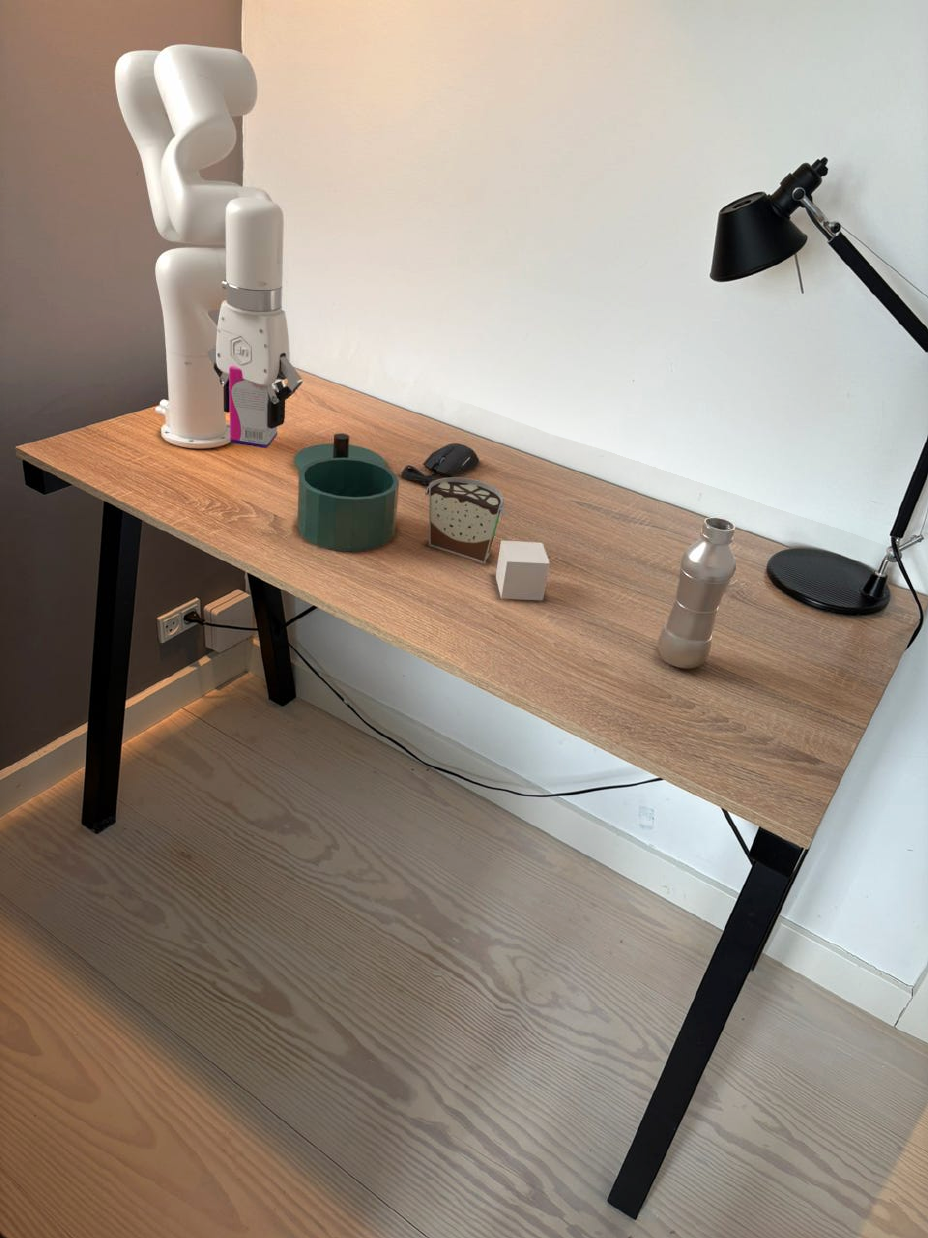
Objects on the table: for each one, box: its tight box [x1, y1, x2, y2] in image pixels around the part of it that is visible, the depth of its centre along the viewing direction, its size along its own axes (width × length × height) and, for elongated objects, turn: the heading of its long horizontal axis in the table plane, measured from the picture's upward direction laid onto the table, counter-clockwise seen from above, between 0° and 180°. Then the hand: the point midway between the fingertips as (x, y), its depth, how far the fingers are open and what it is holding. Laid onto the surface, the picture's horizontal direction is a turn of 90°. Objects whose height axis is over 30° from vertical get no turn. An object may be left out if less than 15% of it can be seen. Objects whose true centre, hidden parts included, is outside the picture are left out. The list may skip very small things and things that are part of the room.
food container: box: [424, 476, 506, 565], centre depth 140 cm, size 12×6×10 cm, turn 65°
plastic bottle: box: [657, 516, 737, 670], centre depth 117 cm, size 6×7×20 cm
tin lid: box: [293, 433, 387, 472], centre depth 160 cm, size 16×16×6 cm
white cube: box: [495, 540, 551, 601], centre depth 132 cm, size 6×6×6 cm
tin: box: [297, 458, 400, 552], centre depth 141 cm, size 15×15×8 cm
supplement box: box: [229, 366, 279, 449], centre depth 137 cm, size 6×6×12 cm
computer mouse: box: [401, 442, 480, 487], centre depth 163 cm, size 12×17×4 cm
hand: (253, 417), depth 139 cm, fingers closed on supplement box, 7 cm apart
